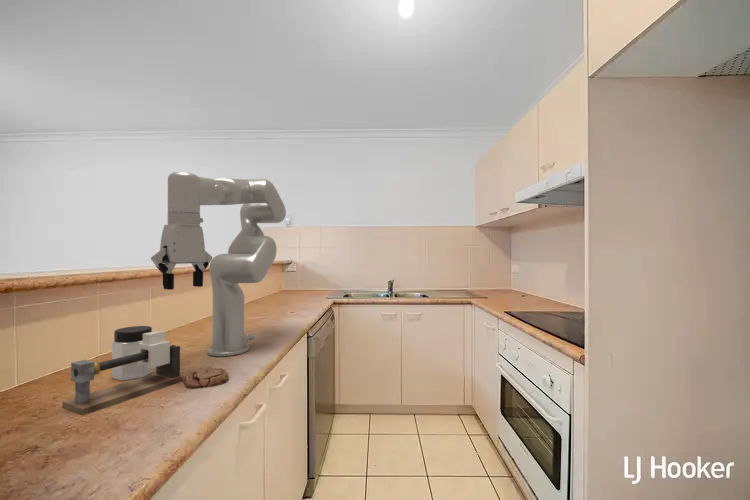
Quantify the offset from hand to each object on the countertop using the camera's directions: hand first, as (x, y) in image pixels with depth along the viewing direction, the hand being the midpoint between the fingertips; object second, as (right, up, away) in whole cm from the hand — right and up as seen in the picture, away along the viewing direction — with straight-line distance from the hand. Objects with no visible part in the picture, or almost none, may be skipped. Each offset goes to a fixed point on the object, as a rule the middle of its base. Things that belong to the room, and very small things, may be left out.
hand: (183, 287), depth 93 cm
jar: (-13, -23, 0) cm, 26 cm away
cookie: (+8, -23, -5) cm, 25 cm away
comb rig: (-6, -23, -12) cm, 27 cm away
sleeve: (-3, -18, -7) cm, 20 cm away
